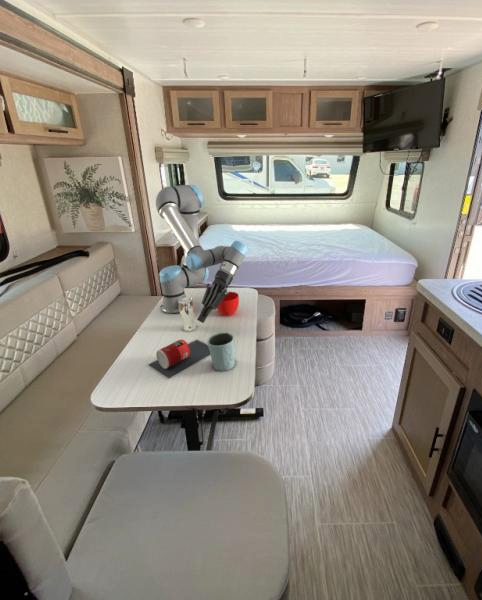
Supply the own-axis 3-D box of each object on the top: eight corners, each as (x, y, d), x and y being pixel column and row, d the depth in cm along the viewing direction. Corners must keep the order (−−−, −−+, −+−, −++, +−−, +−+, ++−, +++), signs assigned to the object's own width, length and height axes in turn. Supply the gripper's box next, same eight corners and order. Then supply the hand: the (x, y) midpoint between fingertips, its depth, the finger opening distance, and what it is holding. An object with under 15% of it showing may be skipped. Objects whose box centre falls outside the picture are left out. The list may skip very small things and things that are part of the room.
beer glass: (189, 323, 163) (185, 296, 157) (199, 326, 160) (195, 298, 154) (179, 329, 158) (174, 301, 152) (190, 332, 155) (185, 304, 149)
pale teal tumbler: (241, 361, 130) (238, 335, 126) (225, 375, 122) (222, 348, 118) (221, 355, 135) (218, 330, 130) (205, 368, 127) (201, 341, 123)
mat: (196, 340, 147) (196, 339, 147) (217, 350, 139) (217, 349, 139) (149, 365, 131) (149, 364, 131) (168, 377, 122) (168, 377, 122)
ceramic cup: (212, 308, 180) (210, 291, 176) (242, 308, 178) (240, 291, 174) (205, 318, 168) (203, 301, 164) (237, 319, 166) (235, 301, 162)
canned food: (186, 338, 130) (162, 350, 123) (193, 356, 132) (170, 369, 124) (176, 339, 136) (153, 350, 128) (183, 356, 137) (161, 368, 129)
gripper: (211, 267, 143) (185, 314, 139) (230, 272, 135) (204, 322, 131) (221, 275, 149) (196, 320, 144) (241, 280, 141) (215, 329, 136)
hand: (200, 321), depth 138 cm, fingers closed
